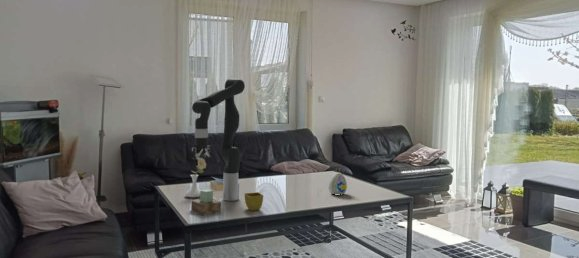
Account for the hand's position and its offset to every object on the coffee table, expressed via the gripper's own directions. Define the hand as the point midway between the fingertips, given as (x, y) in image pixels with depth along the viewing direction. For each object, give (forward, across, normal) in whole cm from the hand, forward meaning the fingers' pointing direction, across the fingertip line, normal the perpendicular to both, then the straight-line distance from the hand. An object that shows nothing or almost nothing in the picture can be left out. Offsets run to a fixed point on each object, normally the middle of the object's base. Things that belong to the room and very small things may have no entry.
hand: (201, 164), depth 250 cm
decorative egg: (+27, -84, +43) cm, 98 cm away
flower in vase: (+26, -16, -22) cm, 38 cm away
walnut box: (+26, +3, +6) cm, 27 cm away
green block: (+20, +2, +6) cm, 21 cm away
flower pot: (+26, -17, +25) cm, 40 cm away
